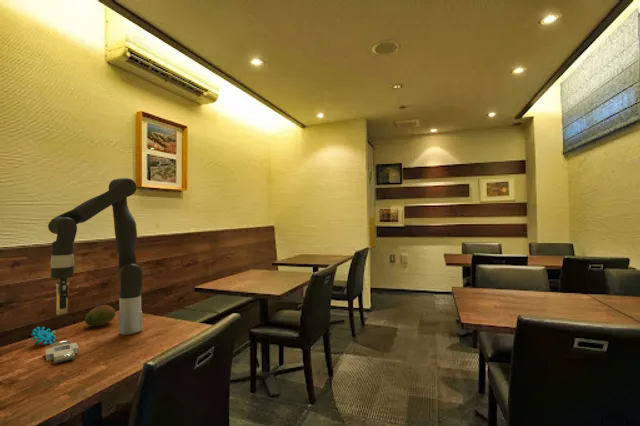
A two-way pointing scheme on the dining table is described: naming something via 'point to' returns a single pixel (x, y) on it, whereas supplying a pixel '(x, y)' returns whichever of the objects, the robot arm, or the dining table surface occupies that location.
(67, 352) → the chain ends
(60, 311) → the pin
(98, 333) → the dining table surface
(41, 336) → the gear
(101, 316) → the fruit
